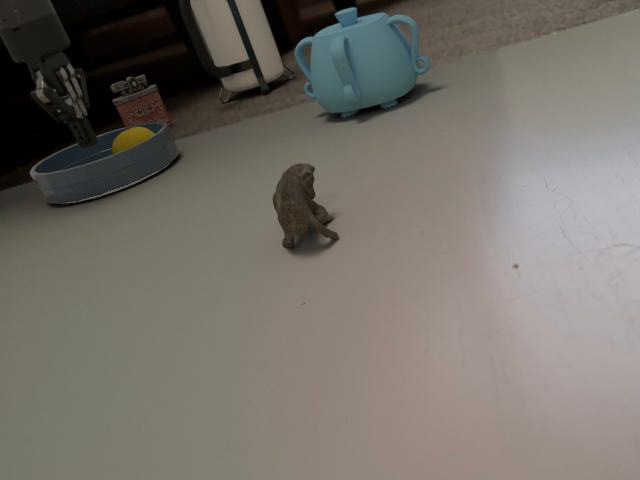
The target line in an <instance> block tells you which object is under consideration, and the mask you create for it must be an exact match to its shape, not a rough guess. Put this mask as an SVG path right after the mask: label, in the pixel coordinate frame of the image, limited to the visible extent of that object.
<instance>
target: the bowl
mask: <svg viewBox="0 0 640 480" xmlns="http://www.w3.org/2000/svg"><path fill="white" fill-rule="evenodd" d="M134 127H144V128H147V129H149V130H151V131H152V132H153V133H155V134H154V135H153V136H151V137H149V138H148V139H146V140H144V141H142V142H140V143H138V144H136V145H134V146H132V147H130V148H128V149H126V150H123V151H121V152H118V153H116V154H113V153H112V145H113V142H114V140H115V139H116V137H117V136H118V135H119V134H120V133H122V132H123V131H125V130H128V129H130V128H134ZM96 137H97V139H98V142H97V143H96V144H94V145H93V146H90V147H87V148H81V147H80V146H79V144H78V142H77V143H75V144H72V145H70V146H68V147H66V148H63V149H61V150H59V151H57V152H55V153H52V154H51V155H49V156H47V157H45V158H43V159H42V160H40V161H39V162H37V163H36V164H35V165H33V166H32V167H31V169H30V171H29V175H30V177H31V178H32V180H33V182H34V184H35V186H36V187H37V190H38V191H39V193H40V195H41V197H42V199H43V200H44V201H45V202H47V203H48V204H56V205H62V204H61V203H67V202H73V201H79V200H82V199H86V198H89V197H93V196H97V195H101V194H103V193H105V192H108V191H111V190H114V189H117V188H120V187H123V186H125V185H128V184H130V183H132V182H135V181H137V180H140V179H142V178H144V177H146V176H148V175H150V174H152V173H154V172H156V171H158V170H160V169H162V168H163V167H165V166H166V165H168V164H169V163H171V162H172V161H173V162H174V160H175V159H176V158H177V157H178V156H179V155H180V154H179V148H178V146H177V144H176V142H175V140H174V138H173V135H172V133H171V131H170V129H169V128H168V126H167V124H166V123H164V122H159V121H158V122H147V123H142V124H137V125H132V126H128V127H126V126H125V127H122V128H117V129H114V130H110V131H108V132H105V133H101V134H99V135H96ZM173 162H172V163H173ZM172 163H171V164H172Z"/></svg>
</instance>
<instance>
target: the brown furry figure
mask: <svg viewBox="0 0 640 480" xmlns="http://www.w3.org/2000/svg"><path fill="white" fill-rule="evenodd" d="M315 171H316V167H315V166H314V165H311V164H309V163H304V162H303V163H302V162H299V163H295V164H293V165H291V166H290V167H288V168H287V169H286V170H285V171H284V172H282V174H281V177H280V179H279V180H278V182H277V183H276V187H275V192H273V194H272V205H273V208H274V210H275V212H276V215H277V222H278V223H279V226H280V227H281V229H282V231H283V234H284V237H283V239H282V241H281V244H282V247H284V248H290V247H292V246H293V245H294V243H295V240H296V238H295V232H296V233H298V234H300V235H301V236H306V235H307V234H308V232H309V228H311V229H312V230H313V231H315V232H316V233H318V234H320V235H322V236H323V237H324V238H326V239H330V240H336V239H338V238H339V237H340V235H339V234H338V232H337V231H334V230H332V229H330V228H327V227H326V226H325V225H324V224H326V223H329V222H330V221H331V220H332V219H333V216H332V215H330V214H329V213H328V210H327V209H326V208H325V207H324V206H323V205H321V204H319V203H318V202H316V201H315V200H314V199H315V198H316V191H315V188H314V183H315V174H314V173H315Z"/></svg>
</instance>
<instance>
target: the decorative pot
mask: <svg viewBox="0 0 640 480" xmlns="http://www.w3.org/2000/svg"><path fill="white" fill-rule="evenodd" d="M357 8H358V7H348V8H344V9H342V10H339V11H337V12H336V13H335V14H334V16H335V18H336V19H337V21H338V23H335V24H332V25H329V26H326V27H325V28H323V29H321V30H319V31H318V32H317V33H315V34H314V35H313V36H307V37H304V38H303V39H301V40H300V41H299V42H298V43H297V45H296V46H295V49H294V58H295V61H296V63H297V66H298V67H299V69H300V70H301V71H302V73H303V74H304V75H305V77H306V78H307V79H308V81H307V82H305V84H304V88H303V89H304V94H305V95H306V96H307V97H308V98H310V99H314V100H315V101H316V102H317V103H318V105H320V107H322V108H323V109H324V110H325V111H327V112H328V113H329V114H337V113H341V115H340V118H342V117H344V118H348V117H347V116H349V117H352V116H354V115H356V114H358V113H357V112H359V110H361V109H367V108H370V107H374V106H377V105H379V106H380V108H381V109H382V108H385V109H387V108H386V107H389V108H391V107H390V106H393V105H395V106H397V105H398V104H399V102H398V101H397V99H398V98H401V97H403V96H405V95H407V94H408V93H409V92H410V91H412V89H413V88H414V87H415V86H416V83H417V80H418V76H421V75H425V74H426V73H428V72H429V71H430V70H431V66H432V65H431V60H430V58H429V57H428V56H427V55H425V54H419V53H420V30H419V26H418V23H417V22H416V21H415V19H413V18H412V17H411V16H408V15H405V14H395V15H394V14H393V15H392V16H389V14H388V13H386V12H377V13H372V14H368V15H363V16H359V17H358V9H357ZM397 23H402V24H405V25H406V26H408V28H409V30H410V35H411V43H410V41H409V39H408V38H407V36H406V35H405V34H404V32H403V31H402V29H401V28H400V27H399V26H398V25H397ZM309 45H311V49H310V50H311V51H310V65H309V64H308V62H307V61H306V58H305V56H304V51H303V50H304V49H305V47H306V46H309ZM420 61H422V63H423V66H421V65H420V63H419V62H420ZM311 86H312V87H311ZM397 103H398V104H397ZM396 104H397V105H396ZM393 107H394V106H393ZM355 113H356V114H355ZM353 114H354V115H353ZM351 115H352V116H351Z"/></svg>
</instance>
